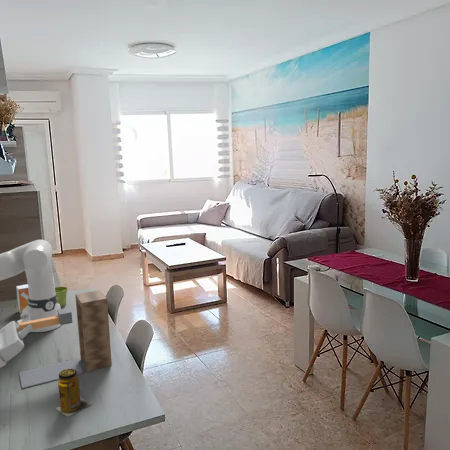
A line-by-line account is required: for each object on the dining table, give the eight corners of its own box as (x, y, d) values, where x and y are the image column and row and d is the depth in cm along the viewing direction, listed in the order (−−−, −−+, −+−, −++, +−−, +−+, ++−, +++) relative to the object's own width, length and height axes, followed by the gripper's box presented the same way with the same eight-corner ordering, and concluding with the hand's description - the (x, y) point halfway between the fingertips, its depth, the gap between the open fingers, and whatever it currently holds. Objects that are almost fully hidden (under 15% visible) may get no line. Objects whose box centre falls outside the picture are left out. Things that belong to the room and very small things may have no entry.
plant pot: (51, 310, 222) (49, 293, 220) (48, 304, 230) (47, 288, 229) (70, 306, 226) (69, 290, 225) (67, 301, 234) (66, 285, 233)
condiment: (55, 408, 138) (51, 373, 136) (79, 396, 144) (76, 362, 142) (67, 417, 133) (64, 380, 131) (92, 404, 140) (89, 369, 137)
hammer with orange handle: (20, 333, 150) (19, 322, 149) (18, 328, 154) (17, 317, 153) (72, 322, 158) (71, 312, 157) (69, 318, 162) (68, 307, 161)
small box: (20, 314, 216) (17, 289, 214) (18, 310, 221) (15, 285, 219) (38, 311, 221) (35, 286, 218) (35, 307, 226) (33, 282, 224)
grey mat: (22, 388, 149) (21, 387, 149) (19, 373, 160) (18, 372, 160) (82, 373, 159) (82, 372, 159) (76, 359, 169) (76, 358, 169)
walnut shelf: (86, 371, 160) (81, 303, 155) (80, 359, 170) (75, 294, 165) (111, 365, 164) (107, 298, 160) (104, 353, 174) (99, 290, 169)
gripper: (-1, 345, 159) (33, 320, 164) (2, 369, 142) (40, 341, 146) (-13, 333, 157) (22, 307, 161) (-11, 356, 139) (28, 327, 143)
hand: (31, 323), depth 153 cm, fingers closed on hammer with orange handle, 2 cm apart
